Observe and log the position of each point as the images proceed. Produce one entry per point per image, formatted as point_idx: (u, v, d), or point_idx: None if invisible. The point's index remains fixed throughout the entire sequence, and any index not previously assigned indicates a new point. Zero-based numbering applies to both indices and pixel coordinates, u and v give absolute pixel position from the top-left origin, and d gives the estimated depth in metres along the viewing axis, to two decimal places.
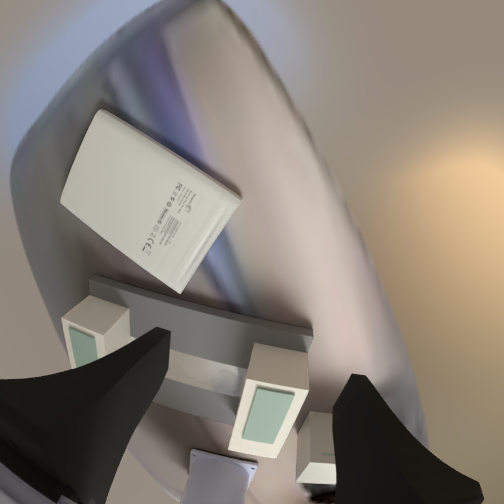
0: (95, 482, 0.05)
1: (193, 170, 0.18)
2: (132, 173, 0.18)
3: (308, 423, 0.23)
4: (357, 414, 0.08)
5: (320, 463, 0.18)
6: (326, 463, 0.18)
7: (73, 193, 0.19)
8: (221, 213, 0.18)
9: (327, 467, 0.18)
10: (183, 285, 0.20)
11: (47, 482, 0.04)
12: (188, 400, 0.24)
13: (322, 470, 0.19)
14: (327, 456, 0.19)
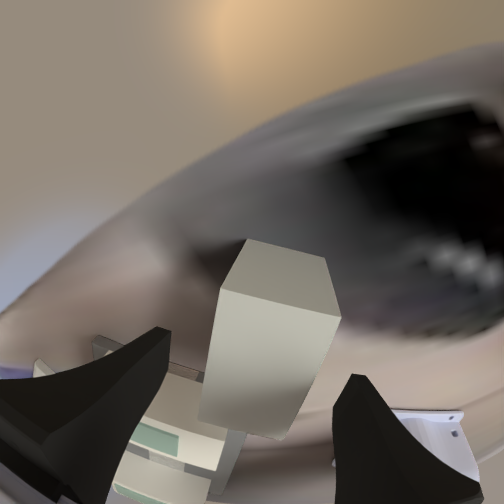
0: (95, 482, 0.05)
1: None
2: None
3: None
4: (357, 414, 0.08)
5: (202, 409, 0.11)
6: (202, 401, 0.11)
7: None
8: (42, 375, 0.21)
9: (217, 401, 0.11)
10: None
11: (47, 482, 0.04)
12: None
13: (230, 407, 0.11)
14: None
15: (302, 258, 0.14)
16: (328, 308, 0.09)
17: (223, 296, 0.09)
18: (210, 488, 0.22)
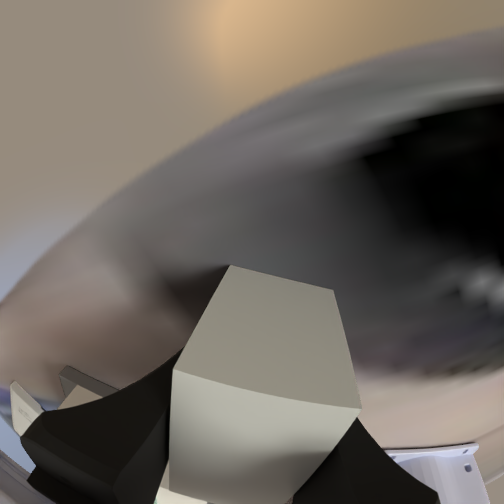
0: None
1: (11, 401, 0.18)
2: None
3: None
4: None
5: (172, 482, 0.07)
6: (171, 477, 0.07)
7: None
8: (19, 399, 0.17)
9: (189, 480, 0.07)
10: None
11: None
12: None
13: (207, 487, 0.07)
14: None
15: (303, 294, 0.10)
16: (342, 393, 0.06)
17: (179, 379, 0.06)
18: None
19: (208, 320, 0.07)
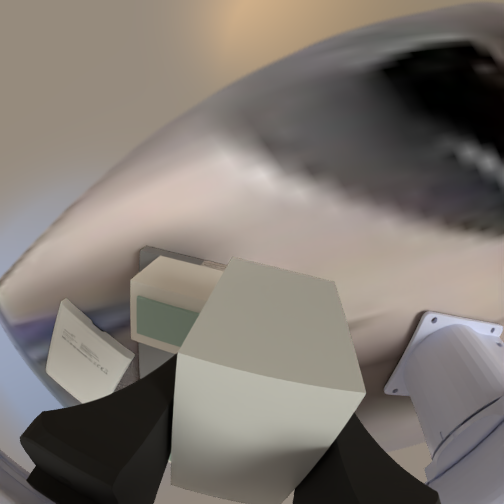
0: None
1: (54, 326, 0.23)
2: (66, 363, 0.24)
3: None
4: None
5: (174, 476, 0.08)
6: (173, 469, 0.07)
7: None
8: (69, 315, 0.22)
9: (191, 472, 0.07)
10: (121, 355, 0.22)
11: None
12: None
13: (209, 479, 0.07)
14: None
15: (305, 285, 0.10)
16: (346, 377, 0.06)
17: (183, 363, 0.06)
18: None
19: (212, 307, 0.07)
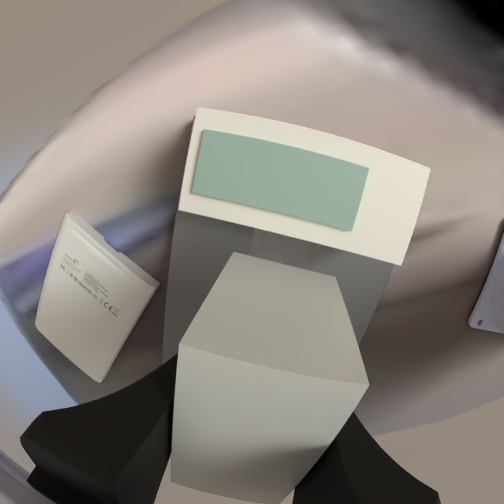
0: None
1: (52, 252, 0.18)
2: (62, 307, 0.19)
3: None
4: None
5: (174, 473, 0.08)
6: (173, 466, 0.07)
7: (87, 366, 0.21)
8: (74, 231, 0.17)
9: (192, 469, 0.07)
10: (141, 281, 0.17)
11: None
12: None
13: (210, 476, 0.07)
14: None
15: (306, 280, 0.10)
16: (349, 369, 0.06)
17: (185, 355, 0.06)
18: None
19: (213, 300, 0.07)
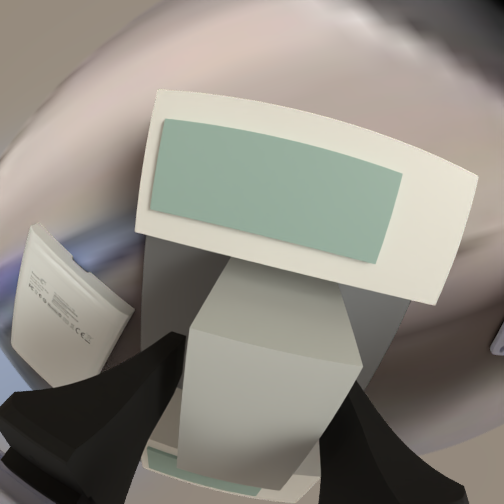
0: (114, 491, 0.05)
1: (20, 270, 0.14)
2: (34, 329, 0.16)
3: None
4: (341, 412, 0.08)
5: (180, 458, 0.08)
6: (180, 451, 0.08)
7: None
8: (39, 247, 0.13)
9: (197, 453, 0.08)
10: (113, 308, 0.14)
11: (68, 495, 0.04)
12: None
13: (215, 460, 0.08)
14: None
15: None
16: (344, 352, 0.06)
17: (194, 338, 0.06)
18: None
19: (219, 290, 0.08)
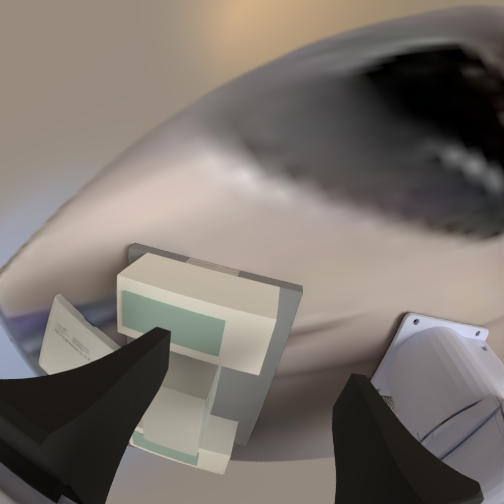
0: (95, 482, 0.05)
1: (48, 320, 0.23)
2: (58, 356, 0.24)
3: None
4: (357, 414, 0.08)
5: (145, 433, 0.17)
6: (144, 429, 0.17)
7: None
8: (62, 310, 0.22)
9: (152, 430, 0.17)
10: (110, 349, 0.23)
11: (47, 482, 0.04)
12: (244, 380, 0.21)
13: (160, 434, 0.17)
14: None
15: None
16: (201, 392, 0.15)
17: None
18: (235, 436, 0.24)
19: None
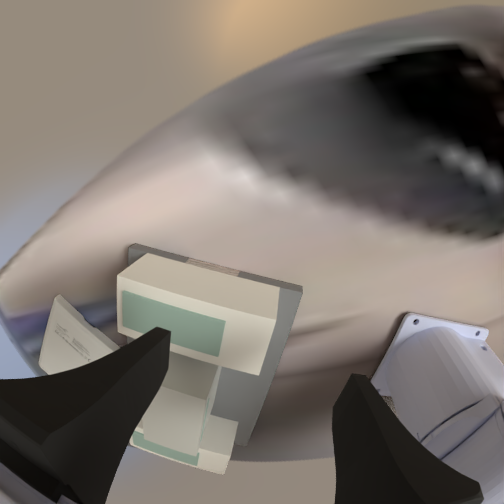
0: (95, 482, 0.05)
1: (48, 321, 0.23)
2: (58, 356, 0.24)
3: None
4: (357, 414, 0.08)
5: (145, 433, 0.17)
6: (144, 429, 0.17)
7: None
8: (62, 311, 0.22)
9: (152, 430, 0.17)
10: (111, 350, 0.23)
11: (47, 482, 0.04)
12: (244, 380, 0.21)
13: (160, 434, 0.17)
14: None
15: None
16: (201, 393, 0.15)
17: None
18: (235, 436, 0.24)
19: None
